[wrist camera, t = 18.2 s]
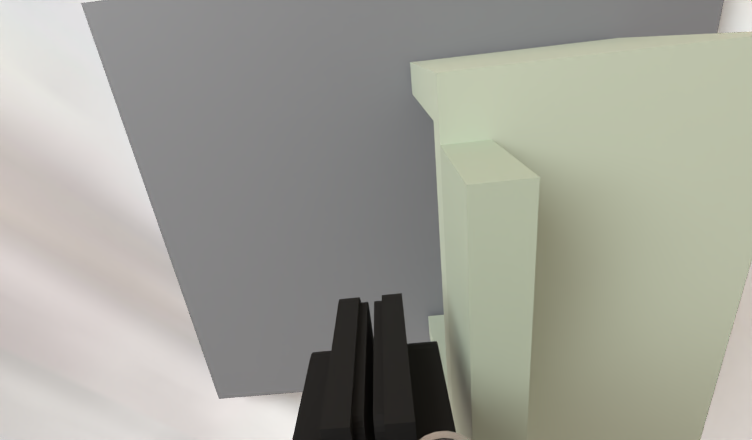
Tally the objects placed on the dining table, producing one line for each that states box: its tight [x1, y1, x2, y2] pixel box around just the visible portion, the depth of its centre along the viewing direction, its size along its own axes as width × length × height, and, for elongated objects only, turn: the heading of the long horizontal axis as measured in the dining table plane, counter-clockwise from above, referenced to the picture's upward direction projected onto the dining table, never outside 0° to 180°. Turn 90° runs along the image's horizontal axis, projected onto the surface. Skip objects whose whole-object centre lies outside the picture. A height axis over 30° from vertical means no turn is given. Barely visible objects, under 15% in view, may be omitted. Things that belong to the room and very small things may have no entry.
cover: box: [410, 32, 752, 440], centre depth 13 cm, size 13×8×10 cm, turn 6°
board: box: [81, 0, 724, 399], centre depth 17 cm, size 20×24×5 cm
